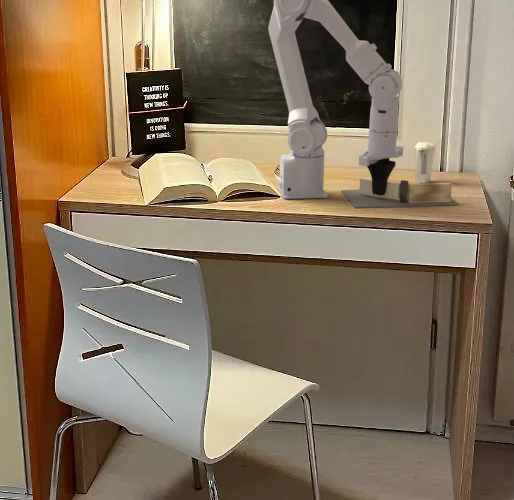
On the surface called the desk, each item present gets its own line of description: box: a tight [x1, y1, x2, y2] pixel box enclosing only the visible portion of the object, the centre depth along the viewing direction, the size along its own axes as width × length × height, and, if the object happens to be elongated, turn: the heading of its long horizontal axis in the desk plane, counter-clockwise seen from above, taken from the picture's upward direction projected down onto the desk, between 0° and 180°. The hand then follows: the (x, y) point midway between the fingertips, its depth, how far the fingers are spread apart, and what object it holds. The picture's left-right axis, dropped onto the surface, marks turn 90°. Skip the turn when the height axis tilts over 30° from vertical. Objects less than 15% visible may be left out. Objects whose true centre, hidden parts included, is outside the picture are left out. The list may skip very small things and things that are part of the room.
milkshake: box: [414, 139, 441, 183], centre depth 205 cm, size 4×5×10 cm
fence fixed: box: [400, 179, 453, 203], centre depth 188 cm, size 11×2×4 cm, turn 97°
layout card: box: [340, 189, 460, 209], centre depth 192 cm, size 22×14×1 cm, turn 97°
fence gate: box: [358, 177, 401, 199], centre depth 191 cm, size 9×1×3 cm, turn 57°
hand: (378, 194), depth 190 cm, fingers closed, pressing on fence gate
